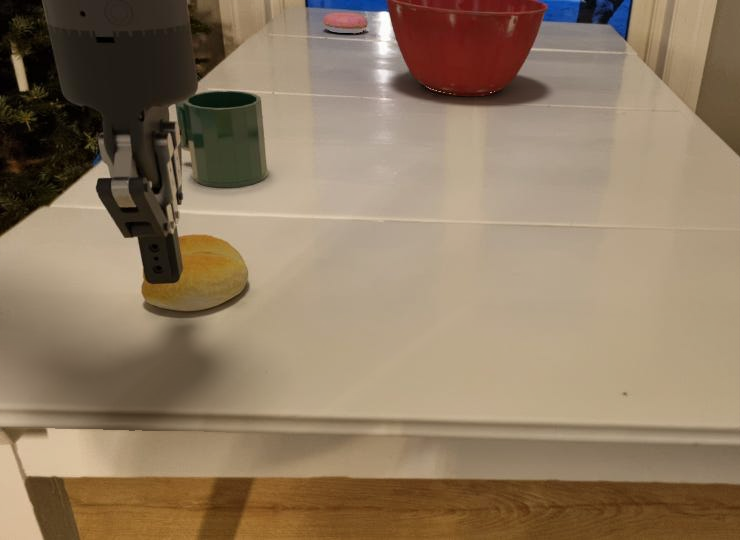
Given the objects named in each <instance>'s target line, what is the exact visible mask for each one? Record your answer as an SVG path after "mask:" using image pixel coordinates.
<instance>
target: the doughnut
mask: <svg viewBox="0 0 740 540" xmlns="http://www.w3.org/2000/svg"><path fill="white" fill-rule="evenodd" d="M322 23H323V26H324V25H326V26H329V27H335V28H342V29H362V28H366V27H367V28H368V25H369V23H368V19H367V17H365V15H363V14H360V13H358V12H357V13H356V12H348V11H346V12H345V11H343V12H341V11H339V12H330V13H326V15H324V18H323V19H322ZM362 33H363V32H361V33H360V34H362ZM352 35H357V34H356V33H353V34H352Z"/></svg>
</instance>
